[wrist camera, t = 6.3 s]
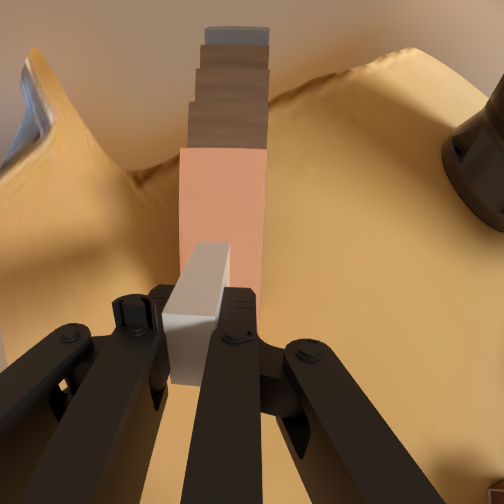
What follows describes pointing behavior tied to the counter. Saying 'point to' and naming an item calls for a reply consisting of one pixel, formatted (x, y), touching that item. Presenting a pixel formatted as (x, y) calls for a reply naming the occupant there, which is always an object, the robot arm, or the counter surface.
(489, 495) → the food container
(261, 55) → the domino
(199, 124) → the domino
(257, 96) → the domino
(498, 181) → the robot arm
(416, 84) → the counter surface
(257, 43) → the domino
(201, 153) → the domino
